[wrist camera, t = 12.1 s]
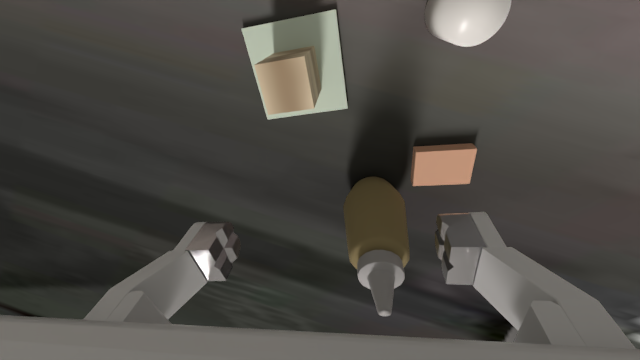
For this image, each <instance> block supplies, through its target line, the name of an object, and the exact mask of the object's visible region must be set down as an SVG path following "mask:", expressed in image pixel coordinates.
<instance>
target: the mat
mask: <svg viewBox="0 0 640 360" xmlns="http://www.w3.org/2000/svg"><path fill="white" fill-rule="evenodd" d="M242 33H243V36H244V40H245V43H246V46H247V50H248V53H249V57H250V60H251V64H252V67H253V71H254V74H255V78H256V81H257V84H258V88H259V91H260V95H261V98H262V102H263V105H264V109H265V112H266V116H267V119H275V118H282V117H289V116H296V115H304V114H311V113H318V112H325V111H333V110H340V109H347V108H348V105H347V97H346V89H345V80H344V72H343V63H342V55H341V47H340V38H339V30H338V22H337V13H336V9H334V10H330V11H325V12H320V13H315V14H310V15H305V16H301V17H296V18H291V19H286V20H281V21H276V22H271V23H267V24H262V25H257V26H252V27H247V28H242ZM310 46H314V47H315V53H316V59H317V65H318V71H319V77H320V83H321V92H320V94H319V97H318V100H317V102H316V105H315V108H314V109H307V110H300V111H293V112H286V113H279V114H272V115H268V112H267V109H266V105H265V102H264V98H263V95H262V91H261V88H260V84H259V81H258V77H257V74H256V70H255V67H254V65H255V64H257V63H258V62H260V61H262V60H263V59H265V58H267V57H268V56H270V55H272V54H273V53H277V52H283V51H288V50H293V49H299V48H304V47H310Z"/></svg>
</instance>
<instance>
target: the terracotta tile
mask: <svg viewBox="0 0 640 360" xmlns="http://www.w3.org/2000/svg"><path fill="white" fill-rule="evenodd" d="M476 152H477V148H476V147H475V146H474V145H473V144H472V143H467V144H450V145H433V146H417V147H413V157H412V169H411V182H412V185H413V186H427V185H452V184H470V179H471V175H472V170H473V165H474V161H475V156H476Z"/></svg>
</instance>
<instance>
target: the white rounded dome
mask: <svg viewBox="0 0 640 360" xmlns="http://www.w3.org/2000/svg"><path fill="white" fill-rule="evenodd" d="M510 6H511V0H428V2H427V4H426V7H425V13H424V20H425V25H426V27H427V29H428V31H429V32H430V33H431V34H432V35H433V36H435V37H436V38H439V39H442V40H445V41H447V42H450V43H453V44H455V45H458V46H463V47H469V46H475V45H478V44H480V43H482V42H484V41H486V40H488V39H489V38H490V37H492V36H493V35H494V34H495V33H496V32H497V31H498V30H499V29H500V27H501V26H502V25H503V23H504V21H505V20H506V18H507V15H508V13H509V10H510Z"/></svg>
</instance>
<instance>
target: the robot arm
mask: <svg viewBox="0 0 640 360" xmlns="http://www.w3.org/2000/svg"><path fill="white" fill-rule="evenodd" d="M436 223H437V226H438V230H437V231H435V246H436V251H437V255H438V258H440V259H441V260H442V265H441V269H442V272H443V275H444V279H445V282H446V284H460V285H473V287H474V288H475V289H476V290H477V291H478V292H480V293H481V294H482V295H483V296H484V297H485V298H486V299H487V300H488V301H489V302H490V303H491V304H492V305H493V306H494V307H495V308H496V309H497V310H498V311H499V312H500V313H501V314H502V315H503V316H504V317H505V318H506V319H507V320H508V321H509V322H510V323H511V324H512V325H513V326H514V327H515V328H516V329H517V330H518V333H517V335H516V337H515V339H514V341H513V343H512V342H494V341H475V340H456V339H438V338H419V337H400V336H381V335H362V334H343V333H324V332H305V331H287V330H268V329H249V328H230V327H212V326H193V325H174V324H171V323H170V322H169V321H168V319H169V318H170V317H171V316H172V315H173V314H174V313H175V312H176V311H177V310H178V309H179V308H181V307H182V306H183V305H184V304H185V303H186V302H187V301H188V300H189V299H190V298H191V297H192V296H193V295H194V294H195V293H196V292H197V291H198V290H199V289H201V288H202V287H203V286H204V285H205V284H206V283H207V281H226V280H227V278H228V276H229V274H230V272H231V270H232V268H233V266H232V262H233V261H234V260H235V259H237V257H238V255H239V253H240V247H241V245H240V240H239V237H238V236H237V235H236V234H234V233H233V231H234V227H233V225H232V223H231V222H197V223H194V224H193V225H192V227H191V228H190V229H189V230H188V232H187V233H186V234H185V236H184V237H183V238H182V240H181V241H180V242H179V244H178V245H177V246H176V247H175V249H174V250H173V251H169V252H167V253H166V254H164V255H163V256H161V257H159V258H158V259H156V260H155V261H153V262H152V263H150V264H148V265H147V266H145V267H144V268H142V269H141V270H139V271H137V272H136V273H134V274H133V275H131V276H130V277H128V278H126V279H125V280H123V281H122V282H120V283H119V284H117V285H115V286H114V287H112V288H111V289H110V290H109V291H108V292H107V293H106V294H105V295H104V296H103V298H102V299H101V300H100V301H99V302H98V303H97V304H96V306H95V307H94V308H93V309H92V310H91V311H90V312H89V314H88V315H87V316H86V317H85V318H84V319H83V320H82V319H63V318H45V317H26V316H10V315H0V360H640V349H636V348H635V347H634V346H633V345H632V343H631V342H630V341H629V339H628V338H627V337H626V336H625V334H624V333H623V332H622V330H621V329H620V328H619V327H618V325H617V324H616V323H615V321H614V320H613V319H612V318H611V316H610V315H609V314H608V312H607V311H606V310H605V309H604V307H603V306H602V305H601V304H600V302H599V301H598V300H596V299H594V298H593V297H591V296H590V295H588V294H586V293H585V292H583V291H582V290H580V289H578V288H577V287H575V286H573V285H572V284H570V283H569V282H567V281H565V280H564V279H562V278H561V277H559V276H557V275H556V274H554V273H553V272H551V271H549V270H548V269H546V268H544V267H543V266H541V265H540V264H538V263H536V262H535V261H533V260H532V259H530V258H528V257H527V256H525V255H523V254H522V253H520V252H519V251H517V250H515V249H514V248H512V247H506V245H505V244H504V242H503V240H502V238H501V237H500V235H499V233H498V232H497V230H496V228H495V227H494V225H493V223H492V222H491V220H490V218H489V216H488V215H487V213H485V212H473V213H455V214H438V215H437V220H436Z"/></svg>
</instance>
